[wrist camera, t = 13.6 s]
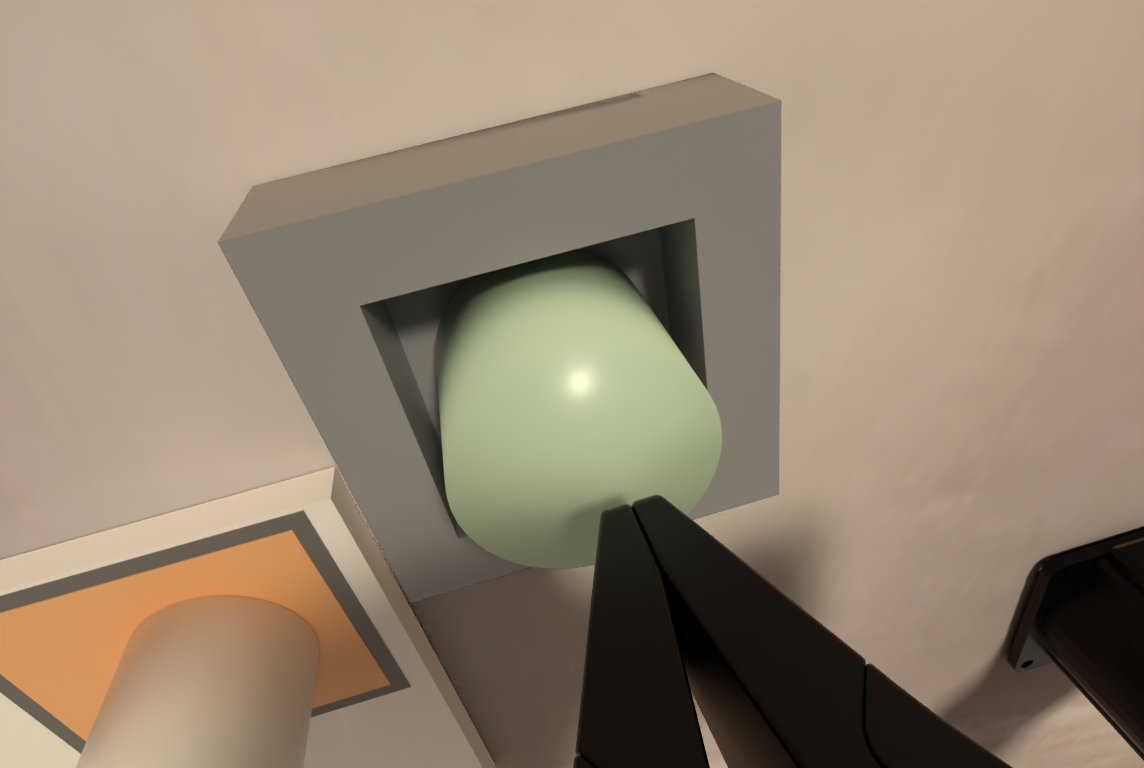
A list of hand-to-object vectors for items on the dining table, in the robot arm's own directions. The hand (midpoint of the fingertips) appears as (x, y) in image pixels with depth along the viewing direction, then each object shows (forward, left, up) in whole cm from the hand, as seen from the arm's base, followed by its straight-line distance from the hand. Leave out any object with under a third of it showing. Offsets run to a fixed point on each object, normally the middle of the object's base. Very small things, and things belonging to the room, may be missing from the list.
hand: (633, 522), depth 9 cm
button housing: (0, 0, -6) cm, 6 cm away
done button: (0, 0, -5) cm, 5 cm away
